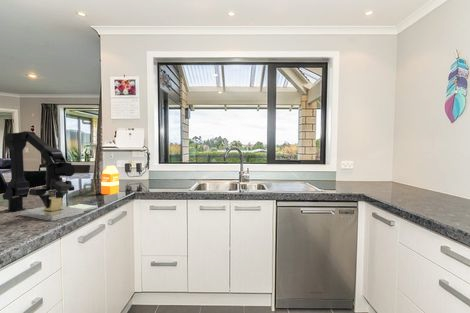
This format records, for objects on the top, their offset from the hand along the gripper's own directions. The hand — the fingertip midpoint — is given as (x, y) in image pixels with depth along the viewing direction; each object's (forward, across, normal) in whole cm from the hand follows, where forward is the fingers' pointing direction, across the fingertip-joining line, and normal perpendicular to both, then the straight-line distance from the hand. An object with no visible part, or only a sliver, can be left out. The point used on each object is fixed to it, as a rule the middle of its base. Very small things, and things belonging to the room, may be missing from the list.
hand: (53, 207), depth 130 cm
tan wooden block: (+4, 0, 0) cm, 4 cm away
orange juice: (+4, +57, +23) cm, 62 cm away
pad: (+4, +14, -1) cm, 14 cm away
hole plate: (+4, 0, 0) cm, 4 cm away
